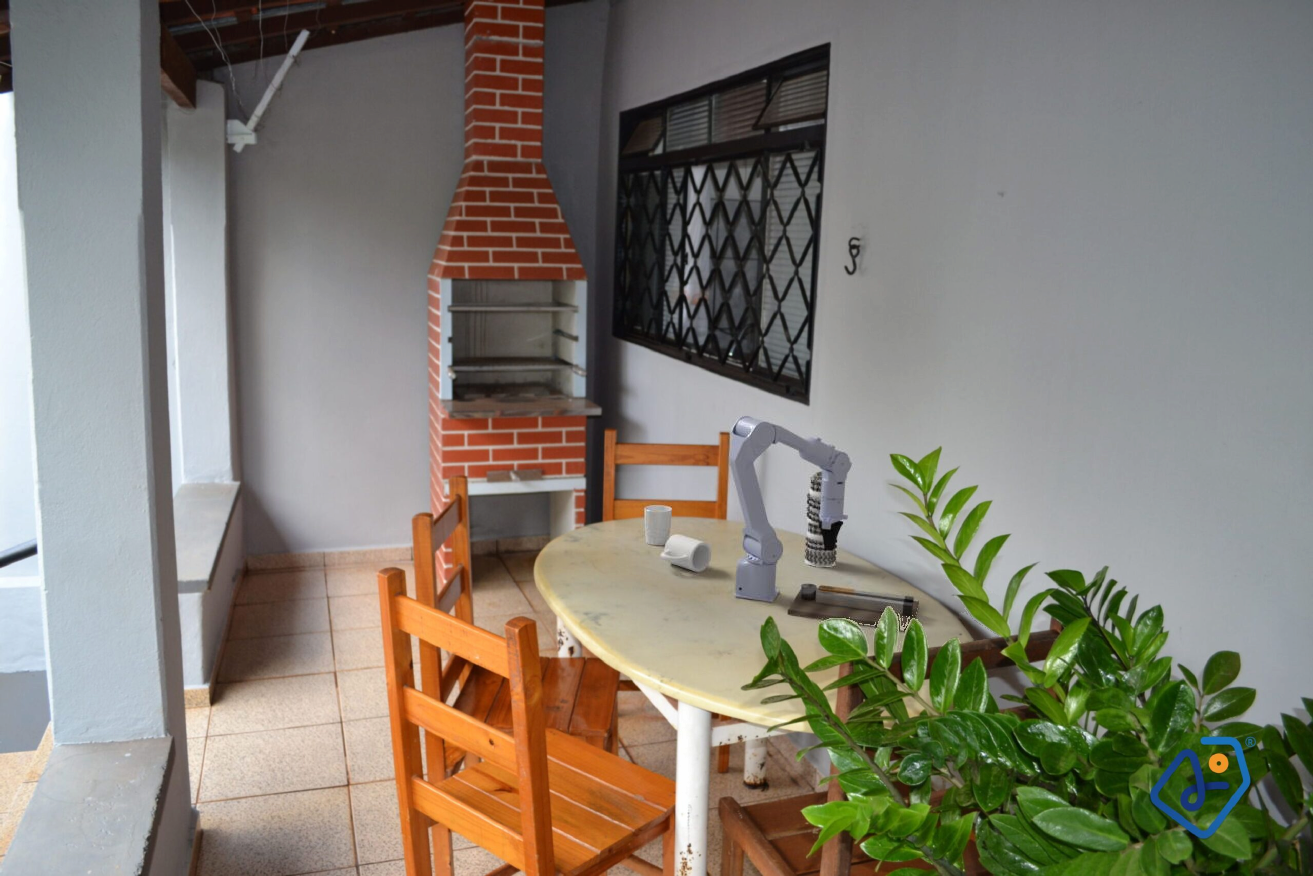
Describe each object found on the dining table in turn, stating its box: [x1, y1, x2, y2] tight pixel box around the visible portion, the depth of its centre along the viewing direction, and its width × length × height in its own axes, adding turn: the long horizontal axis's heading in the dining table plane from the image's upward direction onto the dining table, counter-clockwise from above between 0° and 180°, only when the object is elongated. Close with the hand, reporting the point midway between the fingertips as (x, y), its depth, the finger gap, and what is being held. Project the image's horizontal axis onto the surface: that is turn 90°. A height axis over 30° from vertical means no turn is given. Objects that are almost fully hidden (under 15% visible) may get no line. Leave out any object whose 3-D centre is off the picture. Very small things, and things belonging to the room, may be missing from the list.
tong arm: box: [800, 583, 915, 611], centre depth 230 cm, size 26×4×3 cm, turn 72°
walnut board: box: [787, 587, 920, 632], centre depth 230 cm, size 28×18×1 cm, turn 71°
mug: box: [660, 533, 712, 573], centre depth 257 cm, size 12×10×8 cm
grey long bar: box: [816, 590, 913, 616], centre depth 228 cm, size 22×2×2 cm, turn 71°
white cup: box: [644, 504, 673, 546], centre depth 279 cm, size 8×8×10 cm
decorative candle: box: [804, 470, 838, 567], centre depth 263 cm, size 9×9×25 cm
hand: (829, 549), depth 245 cm, fingers closed
